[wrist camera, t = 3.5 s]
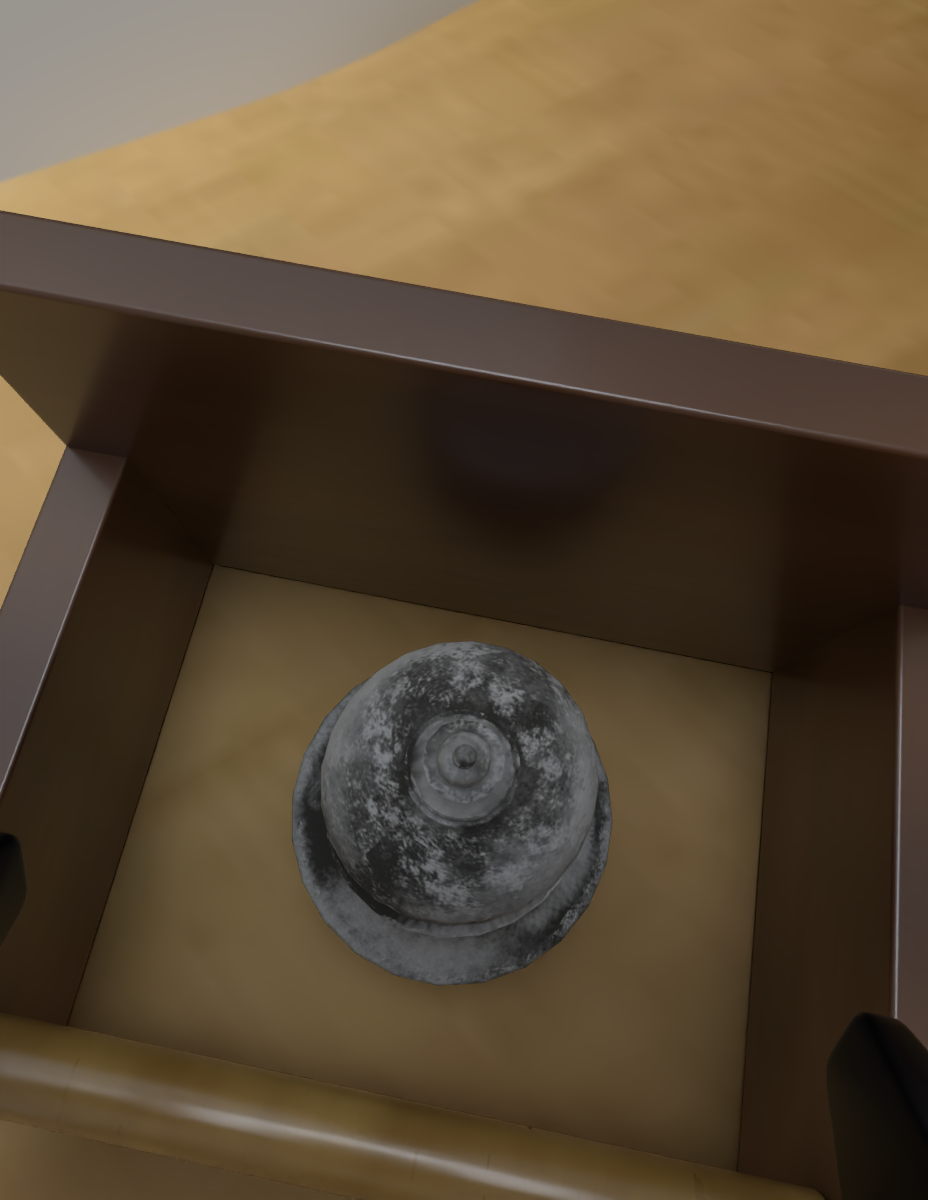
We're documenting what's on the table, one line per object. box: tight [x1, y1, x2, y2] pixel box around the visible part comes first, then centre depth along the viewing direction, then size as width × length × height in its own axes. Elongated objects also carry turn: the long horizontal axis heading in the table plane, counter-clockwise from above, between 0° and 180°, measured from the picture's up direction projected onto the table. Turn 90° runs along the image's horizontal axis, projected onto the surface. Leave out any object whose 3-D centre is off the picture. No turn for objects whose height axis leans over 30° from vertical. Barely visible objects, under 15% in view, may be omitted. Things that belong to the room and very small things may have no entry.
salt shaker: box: [292, 641, 612, 986], centre depth 12 cm, size 6×6×12 cm
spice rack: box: [0, 211, 928, 1200], centre depth 13 cm, size 12×16×10 cm
